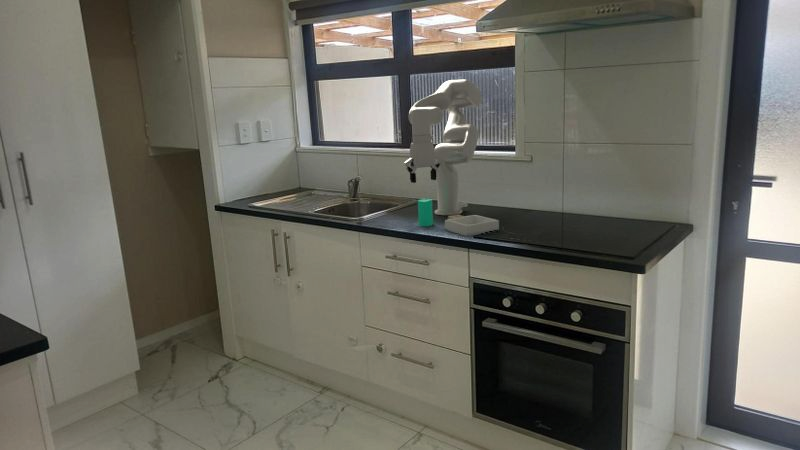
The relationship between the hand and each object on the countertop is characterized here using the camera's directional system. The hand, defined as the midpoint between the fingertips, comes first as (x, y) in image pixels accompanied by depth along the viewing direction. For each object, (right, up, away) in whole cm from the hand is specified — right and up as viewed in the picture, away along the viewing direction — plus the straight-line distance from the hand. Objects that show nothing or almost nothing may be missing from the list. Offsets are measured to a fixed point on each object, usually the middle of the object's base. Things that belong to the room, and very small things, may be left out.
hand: (423, 181), depth 240 cm
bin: (+19, -20, -10) cm, 29 cm away
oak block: (+13, -18, -1) cm, 23 cm away
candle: (+1, -18, +4) cm, 19 cm away
